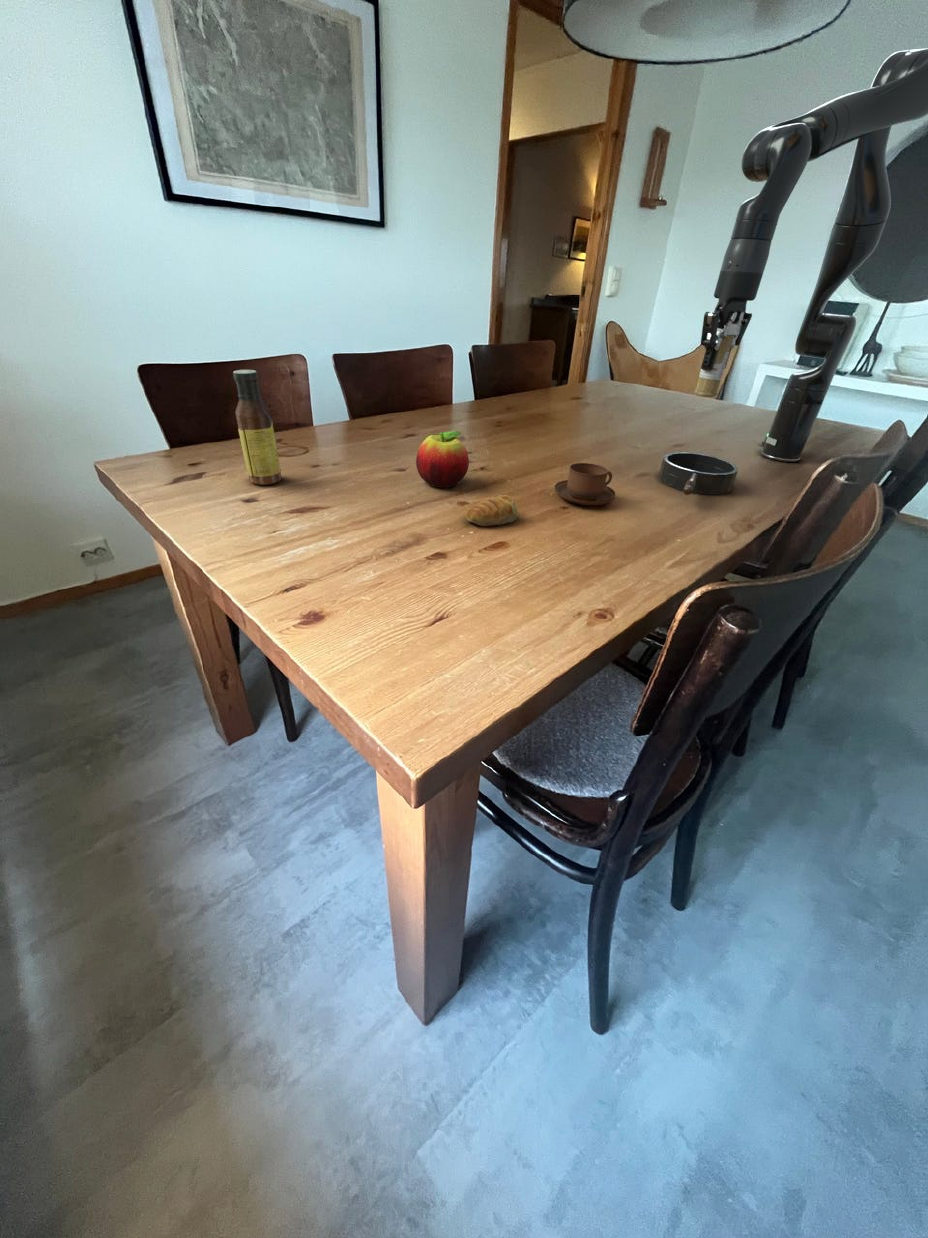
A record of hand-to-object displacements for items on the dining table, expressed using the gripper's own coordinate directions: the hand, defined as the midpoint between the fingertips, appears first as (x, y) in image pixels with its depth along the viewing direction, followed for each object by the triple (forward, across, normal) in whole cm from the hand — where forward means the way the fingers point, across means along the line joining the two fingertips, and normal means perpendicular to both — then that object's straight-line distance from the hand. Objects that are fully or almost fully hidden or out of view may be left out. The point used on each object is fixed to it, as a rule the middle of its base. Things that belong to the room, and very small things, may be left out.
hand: (713, 368), depth 108 cm
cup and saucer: (+23, -31, +2) cm, 39 cm away
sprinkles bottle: (+5, 0, 0) cm, 5 cm away
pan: (+23, 0, -4) cm, 23 cm away
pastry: (+23, -54, +3) cm, 59 cm away
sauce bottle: (+23, -82, +40) cm, 94 cm away
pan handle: (+20, -12, -9) cm, 25 cm away
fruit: (+23, -51, +23) cm, 61 cm away
